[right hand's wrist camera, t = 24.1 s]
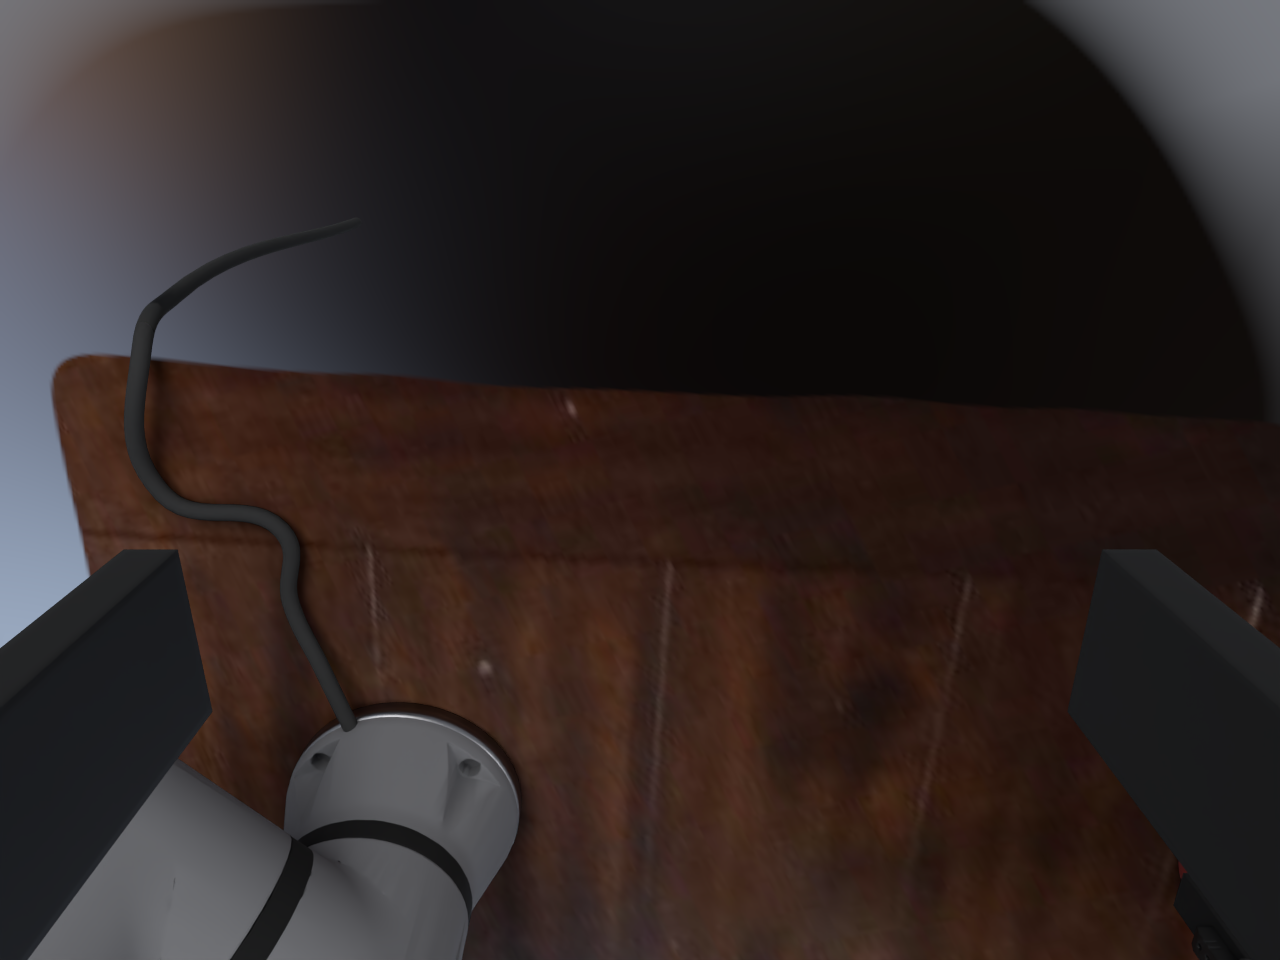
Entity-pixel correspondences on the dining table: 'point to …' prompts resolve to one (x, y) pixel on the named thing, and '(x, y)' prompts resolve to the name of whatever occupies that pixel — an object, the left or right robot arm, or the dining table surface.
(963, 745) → the dining table surface
